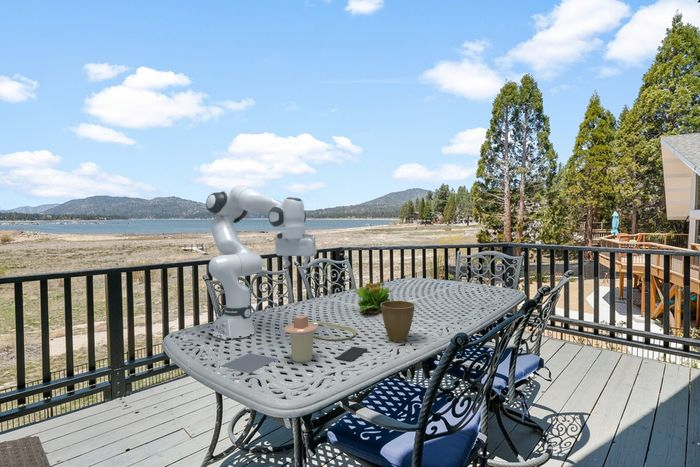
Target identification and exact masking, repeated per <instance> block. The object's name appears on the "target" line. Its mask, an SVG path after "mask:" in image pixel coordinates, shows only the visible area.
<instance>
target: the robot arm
mask: <svg viewBox="0 0 700 467" xmlns="http://www.w3.org/2000/svg"><path fill="white" fill-rule="evenodd" d="M207 196H208V197H207V199H206V200H205V201H206V202H205V207H206V210H207V211H209V212H210V213H211V214H214V215H216V216H215V217H214V218H213V219H212V220H211V221H210V225H211V226H210V227H211V228H210V229H211V233H212V237H213V240H214V243H215V246H216V248H217V250H218V251H219V253H221V254H222V255H218V256H215V257H212V258H211V259H210V261H209V263H208V273H209V274H210V276H211V277H213V278H214V279H216V280H217V281H218V282H219V283H220V284H221V286H222V287H223V289H224V295H225V306H224V307H223V308H222V311H223V314H222V315H221V316H220V317H219V318H217V319H216V320H215V321H214V324H213V330H214V331H215V332H218V333H220V334H223V335H226V336H228V337H229V338H230V337H239V336H246V335H250V334H252V333H253V332H254V331H255V327H254V323H253V322H254V321H253V317H252V304H251V294H250V293H251V290H250V288H249V287H248V286H247V285H245V284H244V283H241V282H239V278H240V277H247V276H252V275H256V274H258V273H261V271H262V269H263V267H264V266H263V265H264V264H263V263H264V261H263V258H262V256H261V255H260V254H258V253H256V252H253V251H252V250H251V249H249V248H247V247H246V246H245V245H244V244H243V243H242V241H241V240H240V238H239V235H238V233H237V231H236V229H235V227H234V224H238V223H239V222H240V221H242V220H243V219H244V218H245V217H246V216H247V215H248V212H249V213H254V214H255V213H256V214H260V213H261V214H264V213H265V214H267V213H268V216H267V217H268V221H269V224H270V225H271V226H272V227H274V228H284V230H283V231H281V232H279V233H276V234H275V239H276V241H275V243H274V244H275V246H274V250H275V251H274V252H275V254H276V255H277V256H279V257H280V256H282V259H283V261H284V265H285V267H289V266H291V261H289V259H288V258H289V257H303V258H304V261H303V262H302V267H306V268H307V267H308V262H309V261H310V259H311V258H310V257H316V255H317V254H318V253H317V252H318V250H317V244H316V237H315V236H314V235H313V234H306V225H305V222H306V220H307V214H306V210H305V205H304V202H303V200H302V199H301V198H299V197H292V196H291V197H285V198H284V200H283V201H279V200H278V199H275V198H272V197H270V196H268V195H266V194H263V193H262V192H260V191H257V190H256V189H254V188H251V187H249V186H245V185H241V184H240V185H238V184H237V185H235V186H233V187H232V188H231V189H230V191H229V193H226V192H225V190H224V191H223V190H222V191H220V192H212V193H211V194H209V195H207ZM253 327H254V328H253Z"/></svg>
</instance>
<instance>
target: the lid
mask: <svg viewBox="0 0 700 467" xmlns="http://www.w3.org/2000/svg"><path fill="white" fill-rule="evenodd" d="M292 318H293V319H292V320H293V321H292V322H293V323H289V324H287V325H286V326H284V328H283V331H284V333H287V334H289V335H290V334H306V333H311V332H313V333H314V332H316V331H317V330H319V325H317V324H314V323H308V322H309V316H308V315H303V314H302V315H301V314H299V315H297V316H294V317H292Z"/></svg>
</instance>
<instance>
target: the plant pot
mask: <svg viewBox="0 0 700 467" xmlns="http://www.w3.org/2000/svg"><path fill="white" fill-rule="evenodd" d="M415 307H416V306H415V303H413V302H411V301H405V300H394V301H391V300H390V301H387V302H383V303H381V311H380V312H381V315H382V319H383V324H384V328H385V330H386V335H387V338H388V339H389V341H390V342H392V343H403V342H406V341H407V339H408V337H409V334H410V330H411V327H412V323H413V319H414V312H415Z"/></svg>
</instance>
